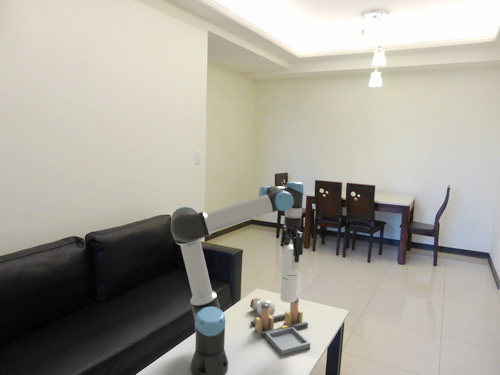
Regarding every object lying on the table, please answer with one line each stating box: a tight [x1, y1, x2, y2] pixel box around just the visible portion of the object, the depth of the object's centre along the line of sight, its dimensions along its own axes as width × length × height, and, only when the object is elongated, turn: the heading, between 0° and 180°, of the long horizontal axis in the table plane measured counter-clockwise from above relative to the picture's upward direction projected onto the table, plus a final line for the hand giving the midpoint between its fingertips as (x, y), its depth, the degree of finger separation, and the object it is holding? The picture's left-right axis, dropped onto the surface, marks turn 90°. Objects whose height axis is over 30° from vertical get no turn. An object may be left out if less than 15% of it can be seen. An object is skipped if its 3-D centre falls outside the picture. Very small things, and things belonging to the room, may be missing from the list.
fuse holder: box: [250, 308, 309, 338], centre depth 175 cm, size 26×13×6 cm, turn 115°
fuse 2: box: [289, 296, 300, 325], centre depth 178 cm, size 4×4×13 cm
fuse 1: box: [260, 303, 270, 332], centre depth 171 cm, size 4×4×13 cm
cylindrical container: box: [280, 243, 299, 304], centre depth 158 cm, size 7×7×25 cm
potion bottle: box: [249, 297, 276, 317], centre depth 185 cm, size 9×10×15 cm
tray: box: [265, 327, 311, 357], centre depth 160 cm, size 15×15×2 cm
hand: (290, 265), depth 157 cm, fingers closed on cylindrical container, 7 cm apart
